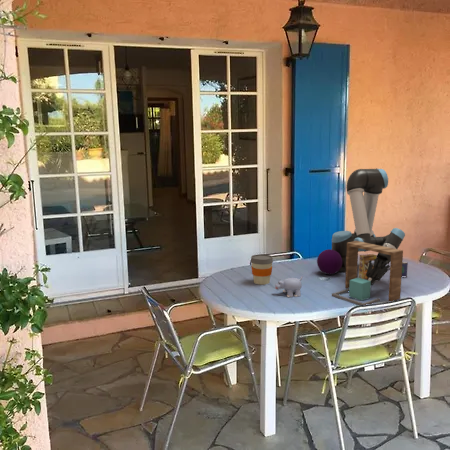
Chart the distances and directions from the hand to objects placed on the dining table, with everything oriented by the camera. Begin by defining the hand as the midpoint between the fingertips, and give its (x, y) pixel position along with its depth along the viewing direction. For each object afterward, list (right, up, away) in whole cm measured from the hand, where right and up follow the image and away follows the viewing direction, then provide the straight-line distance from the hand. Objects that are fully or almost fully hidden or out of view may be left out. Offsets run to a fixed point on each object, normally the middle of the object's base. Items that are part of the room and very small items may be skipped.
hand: (365, 289), depth 258 cm
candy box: (+8, +1, +25) cm, 26 cm away
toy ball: (-11, +4, +39) cm, 41 cm away
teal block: (-4, -4, -2) cm, 6 cm away
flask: (+29, +3, +32) cm, 43 cm away
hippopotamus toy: (-40, -3, +4) cm, 40 cm away
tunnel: (+4, -3, +4) cm, 6 cm away
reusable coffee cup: (-53, +1, +24) cm, 58 cm away
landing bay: (-6, -4, -4) cm, 8 cm away
